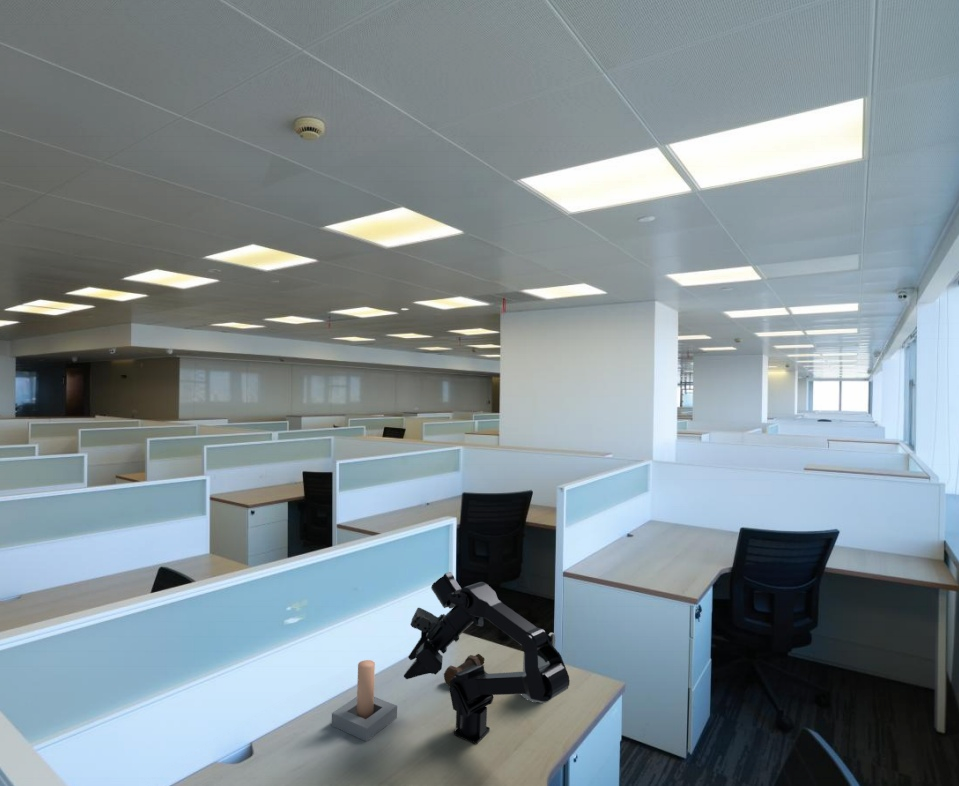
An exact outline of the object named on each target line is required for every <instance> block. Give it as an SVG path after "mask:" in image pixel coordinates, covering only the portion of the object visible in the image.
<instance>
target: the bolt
mask: <svg viewBox="0 0 959 786" xmlns="http://www.w3.org/2000/svg"><path fill="white" fill-rule="evenodd" d="M484 663H485V657H483V656H482V655H481V654H479V653H477V654H476V655H473V654H470V655H468V656H467V657H466V658H465V660H464V662H463V663H461V664H460V665H458V666H457V667H456V666H453V665H449V666H448V667H447V668H446V670H445V671H444V673H443V678H444V682H445V684H446V685H447V686H448V687H449V686H450V682H451V679H452V678H453V677H455V674H456V673H458V672H460V671H462V670H464V669H466V668H469V667H471V666H473V665H475V666H481V665H484Z"/></svg>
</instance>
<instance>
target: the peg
mask: <svg viewBox="0 0 959 786" xmlns="http://www.w3.org/2000/svg"><path fill="white" fill-rule="evenodd" d="M375 666H376V664H375V661H373V660H369V659H364V660H361V661H360V662H358V664H357V685H356V686H357V687H356V688H357V689H356V697H357V716H359V717H361V718H364V719H367V718H369V717H370V716H371V715H373V710H374V697H375V675H376V674H375V669H376V667H375Z"/></svg>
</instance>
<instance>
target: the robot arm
mask: <svg viewBox="0 0 959 786" xmlns="http://www.w3.org/2000/svg"><path fill="white" fill-rule="evenodd" d="M431 591H433V594H434V595H435V596H436V598H437V600H438V601H439V603H440V604H441V606H442V608H444V609H446V608H448V609H450V610H449V611H448V612H447V613H446V614H445V613H443V614H440V615H439V616H436V615H434V614H433V613H431V612H430V611H428V610H426V609H424V608H421V607H417V608H416V610H415V612H414V614H413V616H412V618H411V621H410V626H411V628H413V629H415V630H419V631H420V638H419V639H418V641H417V643H416V644H415V645H414V647H413V649H412V650H411V652H410V653H409V655H408V659H409V660H410V661H413V662H412V664H411V665H410V666H409V667H408V669H407V670H406V671H405V672H404V674H403V678H405V680H410V679H412V678H416V677H419V676H423V675H424V676H425V675H428V674H431V675H433V674H434V675H437V674H438V673H439V672H440V671H442V668H443V660H444V659H443V655H444V654H445V653H446V652H447V649H448V647H449V646H450V645H451V644H452V643H454V642H455V643H457V642H458V641H459V640H460V636H461V635H462V634H463V633H464V632H465V631H466V630H467V629H469V627H471V625H472V624H473V623H474V624H475V626H479V627H484V619H485V620H487V621H489V622H490V623H492V625H493V626H495V627H496V628H498V629H499V630H501V631H502V632H503V633H504V634H505V635H507V636H508V637H510V638H511V639H513V640H514V641H515V642H517V643H518V644H519V645H520V646H521V647H522V650H523V654H524V653H525V672H523V671H513V672H512V671H511V672H498V673H497V672H495V673H487V671H485V665H484V664H483V665H481V666H475V665H473V666H471V667H469V668H466V669H464V670H462V671H460V672H458V673H456V674H455V677H453V678H452V679H451V682H450V687H449V695H450V700H451V703H452V706H451V707H452V709H453V710H454V711H455V712H456V713H455V719H456V720H455V727H456V729H455V730H454V731H453V736H456V737H457V738H460V739H463V740H465V741H468V742H470V743H474V744H478V743H479V742H480V741H481V740H482V739H483V738H485V737H484V736H486V735H487V734H488V732H490V727H489V726H487V718H488V717H487V716H488V707H487V706H490V705H492V703H493V700H494V696H500V695H502V696H503V695H505V696H507V695H508V696H509V695H521V694H526V695H527V696H529V697H530V698H531V699H532V700H536V701H541V702H544V703H547V701H548V702H550V701H551V700H553V699H554V698H555V697H557V696H558V695H560V694H562V693H564V692H565V691H567V690H568V689H569V686H570V681H571V680H570V675H569V673H568V671H567V668H566V665H565V663H564V660H563V657H562V655H561V653H560V652H559V651H558V650H557V649H556V647H555V648H554V647H553V646H552V645H553V644H551V643H550V641H549V639H548V636H547V634H548V633H547V632H546V631H545V630H544V629H543V628H540V627H537V626H536V625H534V624H533V623H531V621H528V620H527V619H526V618H524V617H523V616H521V614H519V613H517V612H515V611H514V610H513V609H512V608H510V607H508V605H506V604H504V603H503V602H502V601H501V600H499V598H498V595H497V593H496V591H495V590H494V589H493V588H492V587H491V586H489V584H488V583H487V582H484V581H479V582H475V583H473V584H470V585H467V586H463V587H461V585H459V583H458V581H457V580H456V578H455V576H454V575H453V573H452V572H451V571H449V572H446V573H444V574H443V576H440V577H439V578H438V579H437V580H436V581H435V582H433V583H432V585H431ZM538 649H539V650H540V651H541V652H542V653H543V655H544V656H545V657H546V658H547V659H548V661H549V664H548V665H545V666H542V667H540V668H538ZM439 651H440V652H441V653H442V654H443V655H442V654H441V653H440V652H439ZM549 700H550V701H549Z"/></svg>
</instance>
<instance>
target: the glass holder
mask: <svg viewBox="0 0 959 786" xmlns="http://www.w3.org/2000/svg"><path fill="white" fill-rule="evenodd" d="M546 634H547V636H548V639H549V641H550V643H551V644H552V646H553V647H554V648H555V649H556V634H555V633H554V632H549V634H548V633H546ZM522 657H523V660H522V672H525V653H524V652H523V656H522ZM548 664H549V661H548V659H547V658H546V657H545V656H544V655H543V653H542V652H541V651H540V650H539V649H538V668H540V667H542V666H545V665H548ZM522 696H523V697H524V698H526V699H528V700H530V701H533V702H532V703H534V702H540V703H539V704H543V703H545V702H541V701H536V700H532V699H531V698H530V697H529V696H527V695H526V694H522V695H521V697H522ZM523 697H522V698H523ZM524 698H523V699H524ZM526 699H525V700H526ZM528 700H527V701H528ZM530 701H529V702H530ZM550 701H551V700H549V701H547V702H550ZM547 702H546V703H547Z"/></svg>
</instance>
